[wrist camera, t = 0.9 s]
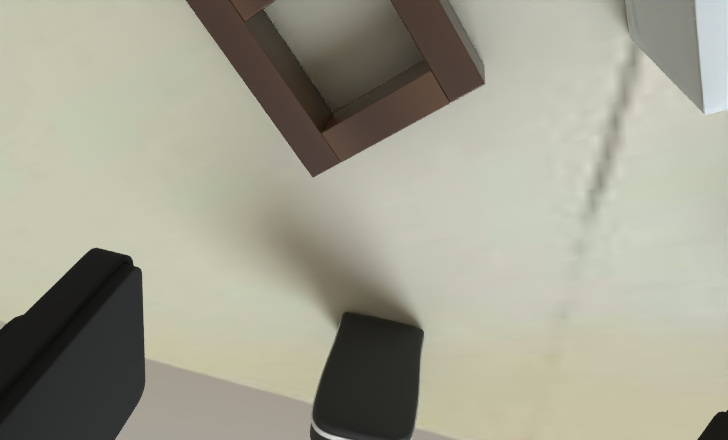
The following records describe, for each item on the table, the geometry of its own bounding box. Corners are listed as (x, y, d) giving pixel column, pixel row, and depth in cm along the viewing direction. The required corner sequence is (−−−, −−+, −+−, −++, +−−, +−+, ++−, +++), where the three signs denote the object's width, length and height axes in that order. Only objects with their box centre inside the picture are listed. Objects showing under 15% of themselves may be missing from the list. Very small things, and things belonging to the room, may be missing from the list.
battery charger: (335, 343, 49) (299, 460, 39) (340, 307, 47) (305, 422, 37) (419, 362, 49) (404, 485, 39) (428, 326, 47) (414, 447, 37)
